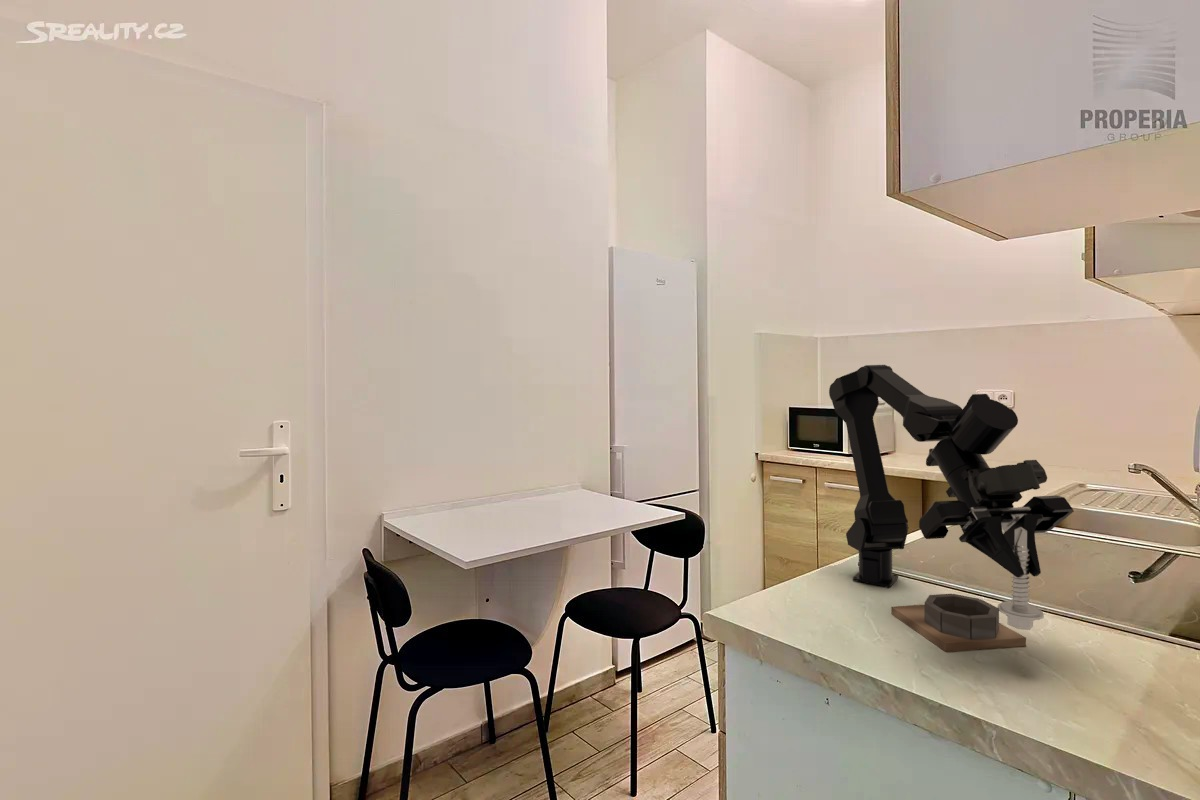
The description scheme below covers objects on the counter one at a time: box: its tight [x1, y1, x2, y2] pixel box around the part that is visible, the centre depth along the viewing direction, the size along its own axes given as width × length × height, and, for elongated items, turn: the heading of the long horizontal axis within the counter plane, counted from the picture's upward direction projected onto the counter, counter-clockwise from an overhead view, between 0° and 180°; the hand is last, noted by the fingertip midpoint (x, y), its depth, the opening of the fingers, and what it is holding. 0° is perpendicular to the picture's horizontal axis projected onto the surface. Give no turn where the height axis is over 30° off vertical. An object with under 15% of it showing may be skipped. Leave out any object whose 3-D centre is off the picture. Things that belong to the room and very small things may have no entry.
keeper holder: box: [890, 593, 1027, 653], centre depth 88 cm, size 13×12×4 cm
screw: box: [997, 527, 1045, 631], centre depth 75 cm, size 13×5×5 cm
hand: (1029, 575), depth 74 cm, fingers closed on screw, 2 cm apart
